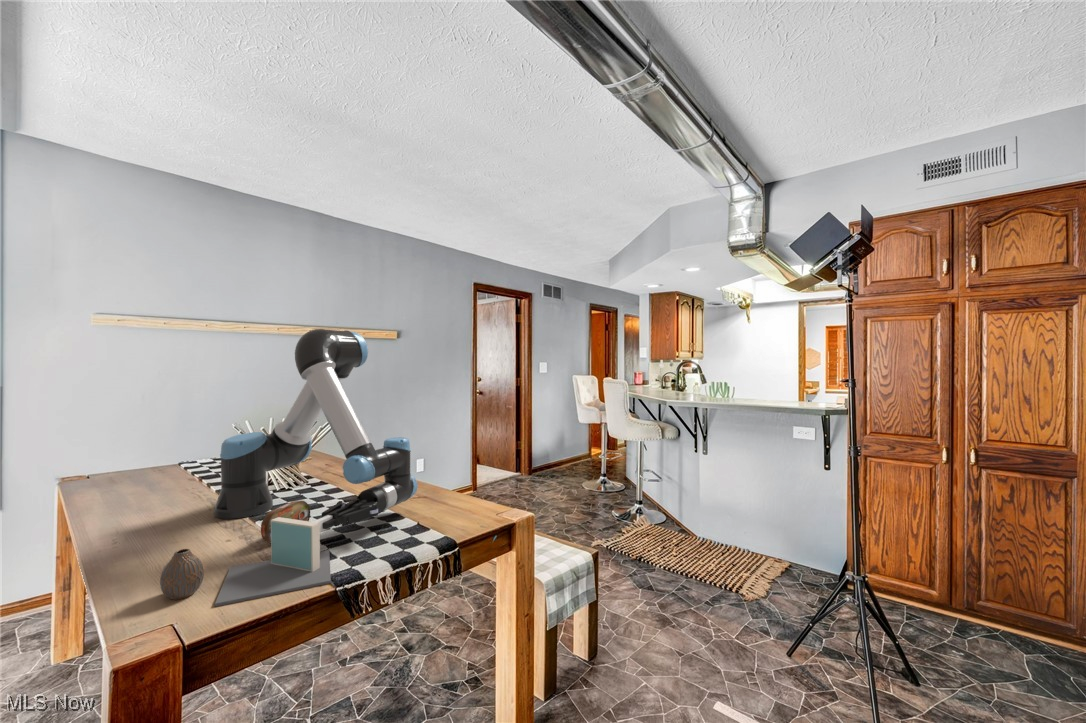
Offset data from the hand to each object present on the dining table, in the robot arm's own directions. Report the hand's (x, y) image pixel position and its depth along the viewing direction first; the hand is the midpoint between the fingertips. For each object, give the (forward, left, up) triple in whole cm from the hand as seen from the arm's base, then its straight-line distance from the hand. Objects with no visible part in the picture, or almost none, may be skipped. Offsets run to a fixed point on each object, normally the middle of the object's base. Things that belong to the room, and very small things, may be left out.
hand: (308, 530), depth 105 cm
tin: (-20, -6, -8) cm, 22 cm away
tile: (+2, -3, -2) cm, 4 cm away
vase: (+4, -22, -8) cm, 24 cm away
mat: (+4, -6, -8) cm, 10 cm away
